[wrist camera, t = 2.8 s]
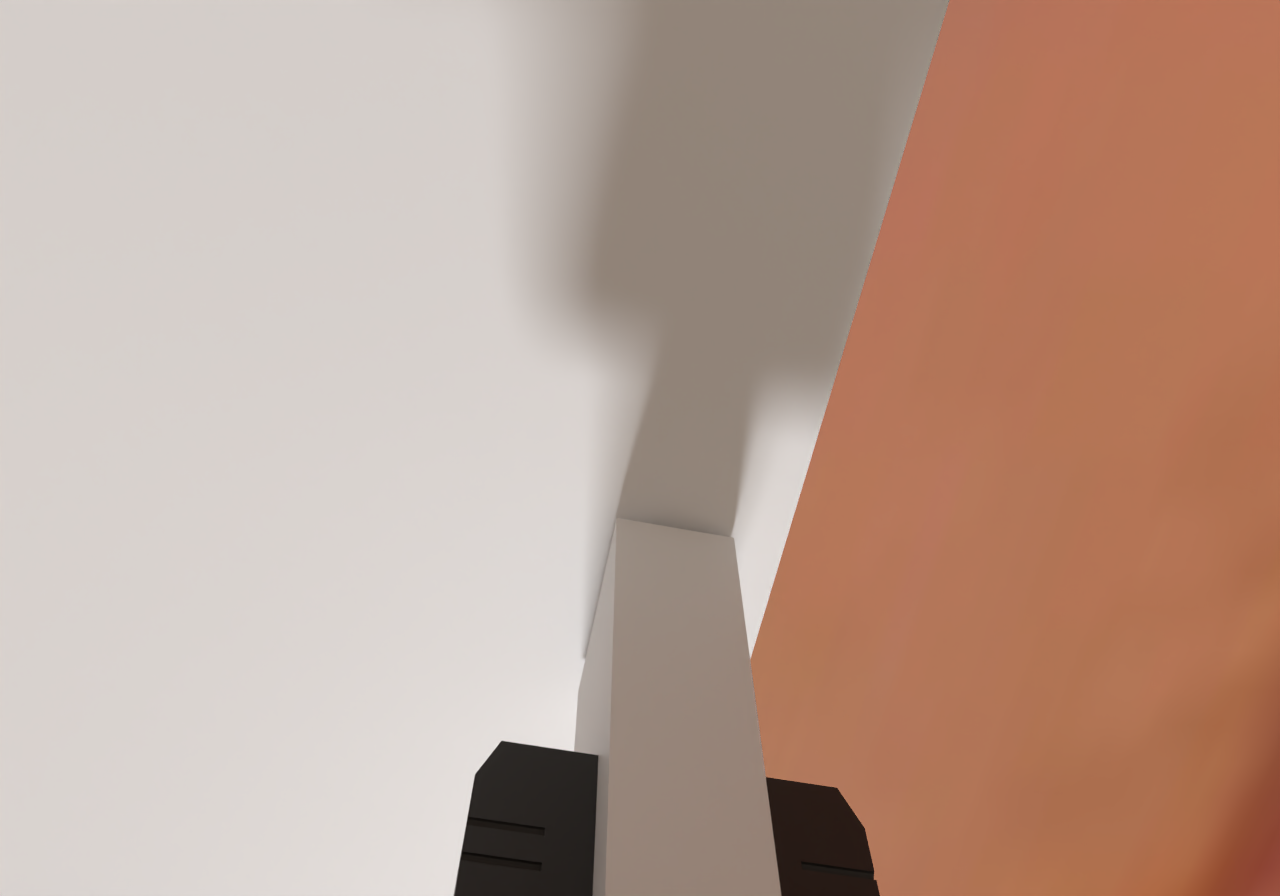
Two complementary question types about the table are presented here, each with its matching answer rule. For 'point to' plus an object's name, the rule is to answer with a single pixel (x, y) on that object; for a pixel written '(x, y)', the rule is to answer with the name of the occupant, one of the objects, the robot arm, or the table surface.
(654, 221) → the stage
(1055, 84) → the table surface
